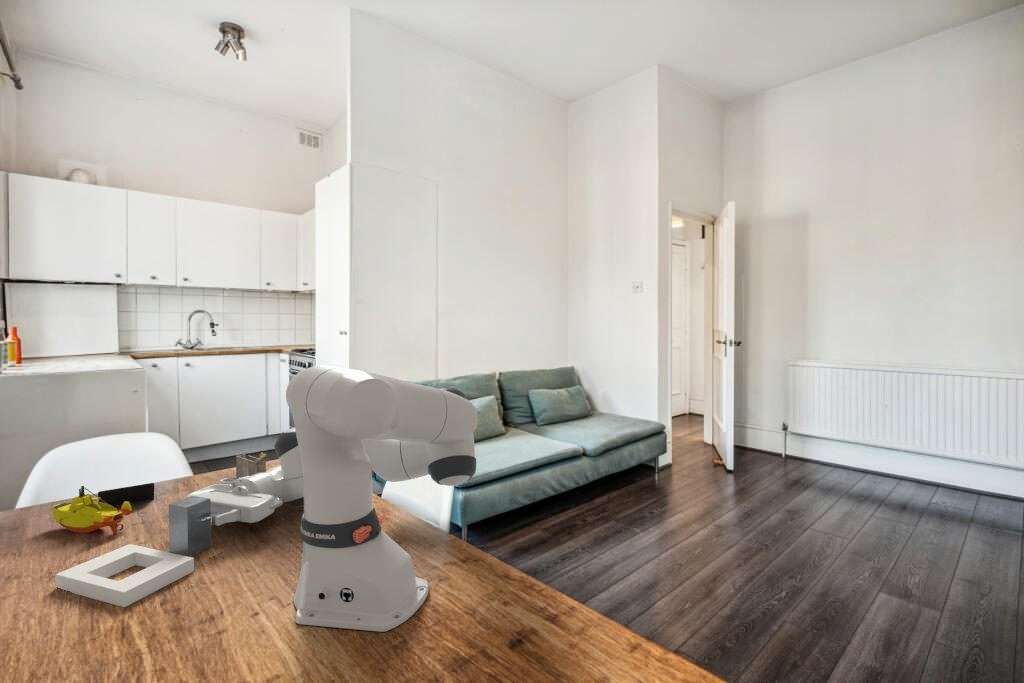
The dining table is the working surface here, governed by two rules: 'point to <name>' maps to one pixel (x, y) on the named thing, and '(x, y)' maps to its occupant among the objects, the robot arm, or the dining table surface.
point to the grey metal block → (189, 525)
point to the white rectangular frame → (156, 575)
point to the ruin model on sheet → (249, 465)
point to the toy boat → (89, 514)
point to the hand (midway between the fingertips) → (196, 518)
